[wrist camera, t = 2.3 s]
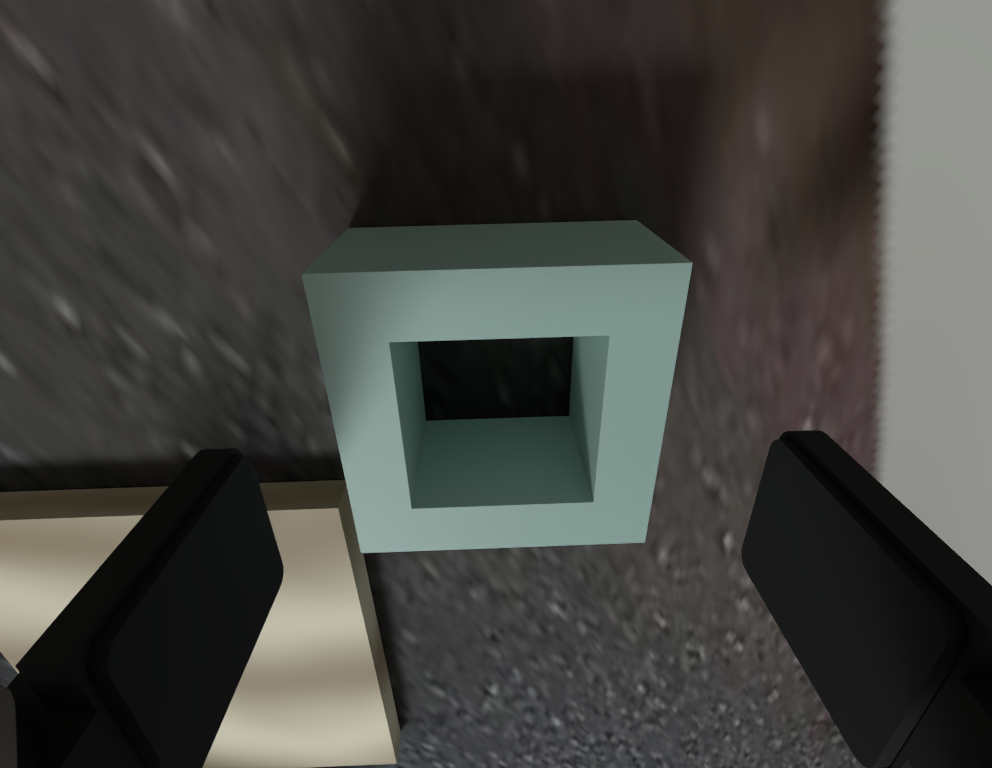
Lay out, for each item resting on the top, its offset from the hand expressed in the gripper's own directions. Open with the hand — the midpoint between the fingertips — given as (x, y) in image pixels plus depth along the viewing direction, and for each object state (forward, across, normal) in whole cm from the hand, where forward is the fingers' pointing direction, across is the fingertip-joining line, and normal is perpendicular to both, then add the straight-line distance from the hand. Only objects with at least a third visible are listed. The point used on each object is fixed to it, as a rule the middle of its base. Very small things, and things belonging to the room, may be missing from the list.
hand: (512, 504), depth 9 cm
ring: (+5, 0, -1) cm, 5 cm away
